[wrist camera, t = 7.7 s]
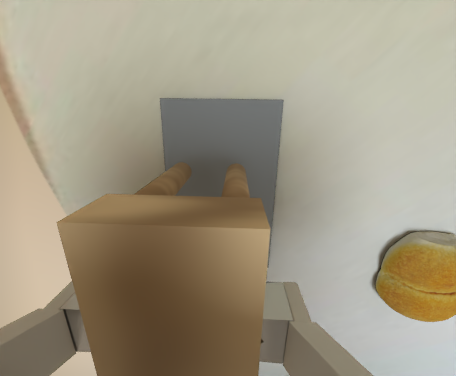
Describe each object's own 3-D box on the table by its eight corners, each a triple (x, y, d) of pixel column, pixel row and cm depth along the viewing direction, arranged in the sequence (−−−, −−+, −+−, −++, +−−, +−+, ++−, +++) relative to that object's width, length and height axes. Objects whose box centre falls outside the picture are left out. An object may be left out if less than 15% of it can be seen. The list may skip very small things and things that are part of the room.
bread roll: (364, 300, 23) (389, 335, 19) (386, 226, 20) (420, 251, 16) (442, 305, 23) (484, 342, 19) (475, 231, 20) (531, 257, 16)
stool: (249, 160, 13) (270, 228, 5) (244, 269, 15) (252, 435, 7) (168, 158, 13) (56, 222, 5) (176, 266, 15) (110, 426, 7)
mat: (267, 265, 22) (268, 267, 22) (173, 260, 22) (172, 263, 22) (282, 100, 17) (283, 99, 17) (161, 98, 18) (159, 98, 17)
